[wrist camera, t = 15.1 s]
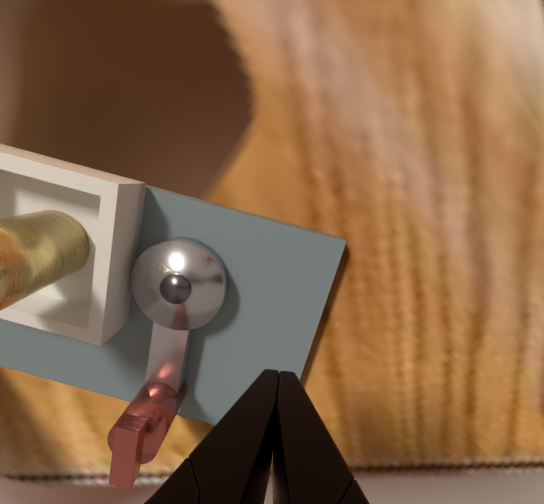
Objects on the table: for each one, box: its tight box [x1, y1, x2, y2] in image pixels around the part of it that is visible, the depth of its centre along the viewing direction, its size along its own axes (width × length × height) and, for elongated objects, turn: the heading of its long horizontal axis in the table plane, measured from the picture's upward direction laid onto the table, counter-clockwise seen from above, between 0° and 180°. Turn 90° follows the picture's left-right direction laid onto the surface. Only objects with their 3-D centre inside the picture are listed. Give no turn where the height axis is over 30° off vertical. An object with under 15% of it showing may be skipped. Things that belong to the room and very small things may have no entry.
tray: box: [0, 144, 147, 346], centre depth 15 cm, size 8×8×2 cm
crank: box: [107, 237, 229, 489], centre depth 15 cm, size 12×5×5 cm, turn 166°
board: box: [0, 185, 346, 425], centre depth 17 cm, size 20×14×1 cm
